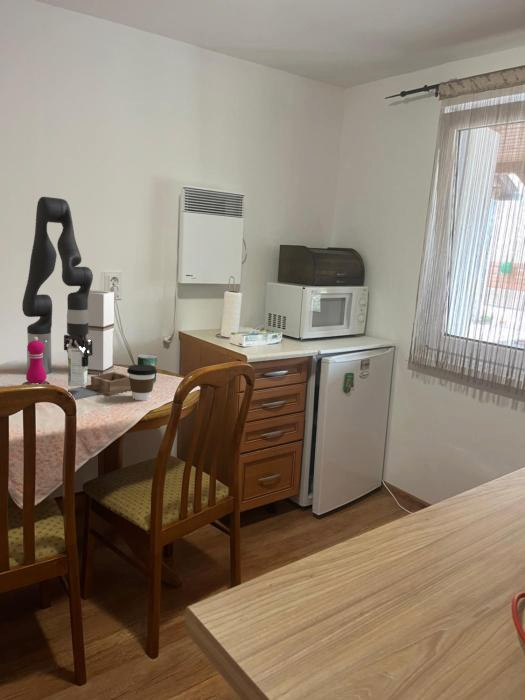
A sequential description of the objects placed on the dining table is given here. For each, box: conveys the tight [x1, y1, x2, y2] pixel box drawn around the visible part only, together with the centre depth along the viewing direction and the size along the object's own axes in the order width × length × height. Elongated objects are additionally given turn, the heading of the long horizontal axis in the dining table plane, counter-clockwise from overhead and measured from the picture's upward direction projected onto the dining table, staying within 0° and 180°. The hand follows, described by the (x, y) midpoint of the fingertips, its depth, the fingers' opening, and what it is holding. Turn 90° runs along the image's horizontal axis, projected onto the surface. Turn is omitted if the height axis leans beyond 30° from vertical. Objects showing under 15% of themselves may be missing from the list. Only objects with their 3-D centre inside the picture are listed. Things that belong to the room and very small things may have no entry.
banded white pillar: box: [86, 289, 115, 375], centre depth 232 cm, size 11×11×35 cm
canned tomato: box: [137, 353, 158, 383], centre depth 224 cm, size 8×8×11 cm
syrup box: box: [67, 346, 88, 387], centre depth 199 cm, size 6×6×14 cm
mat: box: [67, 386, 101, 401], centre depth 201 cm, size 11×11×1 cm
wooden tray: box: [85, 371, 132, 397], centre depth 210 cm, size 14×14×5 cm
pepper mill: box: [25, 337, 47, 384], centre depth 204 cm, size 7×7×20 cm
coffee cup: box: [126, 364, 158, 401], centre depth 200 cm, size 11×11×12 cm
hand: (78, 364), depth 199 cm, fingers closed on syrup box, 8 cm apart
